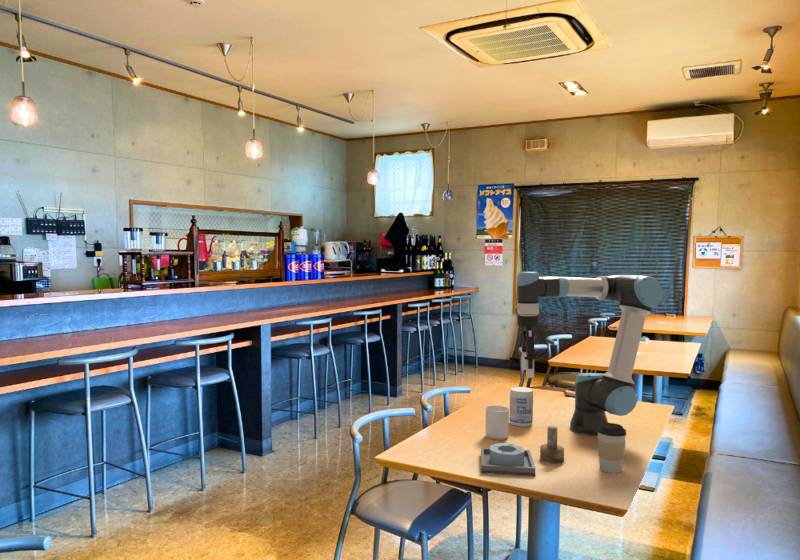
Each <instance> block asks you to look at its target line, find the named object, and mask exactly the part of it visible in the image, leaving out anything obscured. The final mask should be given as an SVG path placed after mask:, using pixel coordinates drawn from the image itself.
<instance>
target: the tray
mask: <svg viewBox="0 0 800 560" xmlns="http://www.w3.org/2000/svg"><path fill="white" fill-rule="evenodd" d="M480 465H481V466H480V467H481V474H488V473H494V474H493V475H507V474H508V475H511V476H525V477H526V476H527V477H528V476H529V477H536V465H535V462H534V459H533V457H532V452H531V450H530V449H524V465H523V466H503V465H493V464H491V463H490V447H480Z"/></svg>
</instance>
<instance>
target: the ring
mask: <svg viewBox="0 0 800 560" xmlns="http://www.w3.org/2000/svg"><path fill="white" fill-rule="evenodd" d="M489 448H490V463H491V464H493V465H503V466H523V465H524V450H525V448H524V447H523V446H520V445H517V444H516V443H515V444H514V443H509V442H508V443H507V442H506V443H504V442H498V443H495V444H491V445H490V446H489Z"/></svg>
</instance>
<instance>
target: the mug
mask: <svg viewBox="0 0 800 560" xmlns="http://www.w3.org/2000/svg"><path fill="white" fill-rule="evenodd" d="M509 415H510V408H508V407H507V406H504V405H489V406H486V407H485V435H486V436H487V438H488V439H491V440H495V439H497V440H498V441H500V439H502V440H505V439H506V438H508V436H509V431H510V429H509V428H510V425H509V424H510V422H509Z"/></svg>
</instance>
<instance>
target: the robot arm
mask: <svg viewBox="0 0 800 560" xmlns="http://www.w3.org/2000/svg"><path fill="white" fill-rule="evenodd" d="M516 286H517V287H516V291H517V294H516V295H517V298H516V299H517V305H515V309H517V314H518V315H517V317H516V319H517V320H516V321H517V324H516V325H517V326H518V327H521V329H522V330H521V347H520V348H521V370H522V371H525V378H526V379H535V359H536V353H535V331H534V330H533V327H538V326H539V324H540V323H539V322H540V319H539V314H540V299H542V298H543V299H545V298H549V299H550V298H557V299H558V298H563V297H577V298H578V297H582V298H584V297H585V298H595V299H596V300H598V301H599V300H600V301H609V302H614V303H618V304H619V306H618V307H619V309H620V310H621V314H620V319H619V323H618V327H617V332H616V335H615V336H616V337H615V340H614V344H613V348H612V351H611V352H612V353H611V355H610V356H611V357H610V361H609V364H608V368H607V371H606V372H604V373H603V372H602V373H601V372H600V373H599V372H586V373H585V372H583V373H579V374H577V375H576V377H575V380H574V381H575V382H574V387H575V388H574V389H575V390H574V399H575V400H574V411H573V413H572V417H571V419H570V422H569V429H570V430H571V431H573V432H574V433H577V434H580V435H581V434H582V435H586V436H598V431H597V430H598V427H599V426H601V424H603V423H609V420H608V418H607V414H606V413H608V414H610V415H615V416H619V417H621V416H622V417H623V416H627V415H628V414H630V413H631V412H633V411H634V409H635V408H636V406H637V404H638V395H637V392H636V390H635V389H634V387H635V382H634V380H633V378H632V375H633V371H634V367H635V363H636V359H637V355H638V351H639V347H640V341H641V337H642V333H643V329H644V326H645V322H646V317H647V316H649V315H651V314H652V311H653V308H655V307H657V306H658V304H661V301H662V299H663V288H662V286H661V284H660V282H659V281H658V279H656V278H655V277H653V276H649V275H643V274H641V275H639V274H638V275H637V274H616V275H605V276H604V275H599V276H597V277H594V278H593V277H573V276H571V277H570V276H559V275H558V276H553V275H552V276H550V275H548V276H547V275H540V273H539V272H537V271H520V272H519V273H518V274H517V282H516Z"/></svg>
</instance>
